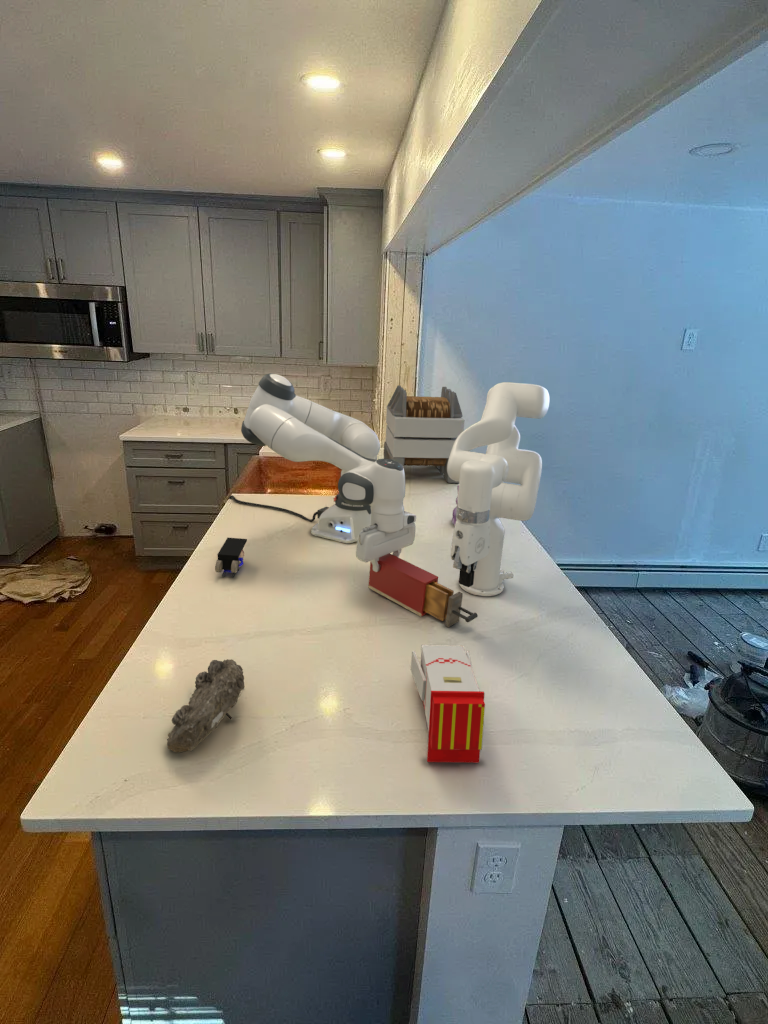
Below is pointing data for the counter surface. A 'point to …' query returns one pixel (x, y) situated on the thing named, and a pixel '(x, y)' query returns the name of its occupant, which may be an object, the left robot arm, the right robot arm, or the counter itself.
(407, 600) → the cabinet
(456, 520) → the figurine
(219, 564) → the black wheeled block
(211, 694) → the fossil
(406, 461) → the transformer
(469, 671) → the toy
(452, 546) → the right robot arm
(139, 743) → the counter surface
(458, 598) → the drawer
